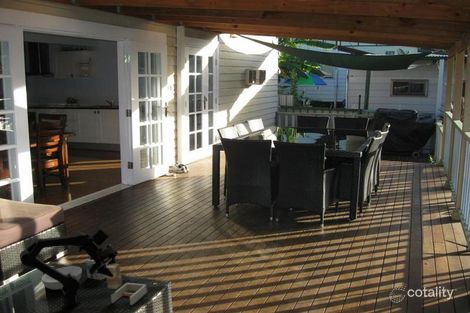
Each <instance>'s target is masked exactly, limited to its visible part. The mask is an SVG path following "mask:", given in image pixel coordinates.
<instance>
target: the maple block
mask: <svg viewBox="0 0 470 313" xmlns="http://www.w3.org/2000/svg"><path fill="white" fill-rule="evenodd" d="M106 267H107V269H108V270H109V271H110V272H111V273H112V274H113V277H110V276H107V275H106V278H105V279H106V283H107V289H113V290H118V289H119V288H121V287H122V286H123V280H122V272H121V265H120V263H116V264H114V263H111V264H109V265H108V266H106Z"/></svg>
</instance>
